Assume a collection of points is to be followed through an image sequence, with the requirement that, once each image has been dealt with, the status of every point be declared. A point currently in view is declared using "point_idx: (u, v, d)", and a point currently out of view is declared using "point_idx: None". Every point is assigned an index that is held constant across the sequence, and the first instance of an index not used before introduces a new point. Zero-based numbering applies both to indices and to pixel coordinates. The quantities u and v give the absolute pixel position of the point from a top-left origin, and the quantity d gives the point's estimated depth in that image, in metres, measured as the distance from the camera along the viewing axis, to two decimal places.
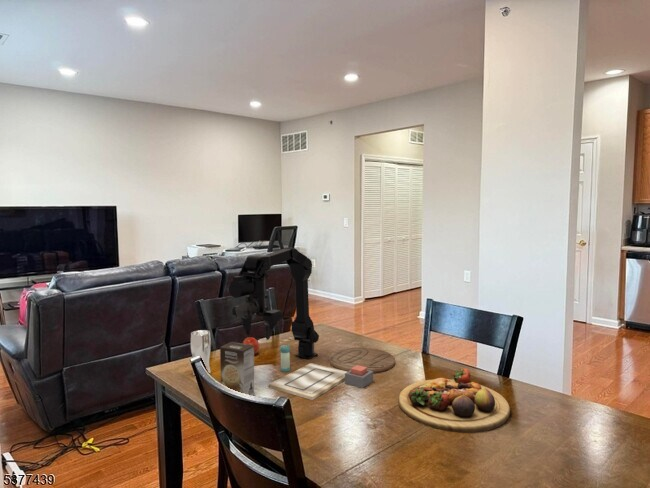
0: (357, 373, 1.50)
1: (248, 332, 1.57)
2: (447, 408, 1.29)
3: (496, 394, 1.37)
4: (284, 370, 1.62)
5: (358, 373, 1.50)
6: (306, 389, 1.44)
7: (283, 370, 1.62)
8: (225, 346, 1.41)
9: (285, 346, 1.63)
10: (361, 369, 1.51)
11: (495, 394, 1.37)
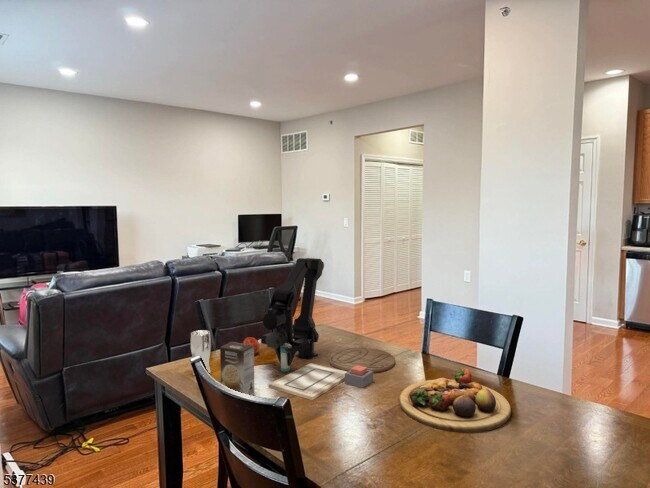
0: (357, 373, 1.50)
1: None
2: (448, 408, 1.29)
3: (497, 394, 1.37)
4: (284, 370, 1.62)
5: (358, 373, 1.50)
6: (306, 389, 1.44)
7: (283, 370, 1.62)
8: (225, 346, 1.41)
9: (285, 346, 1.63)
10: (361, 369, 1.51)
11: (496, 394, 1.37)
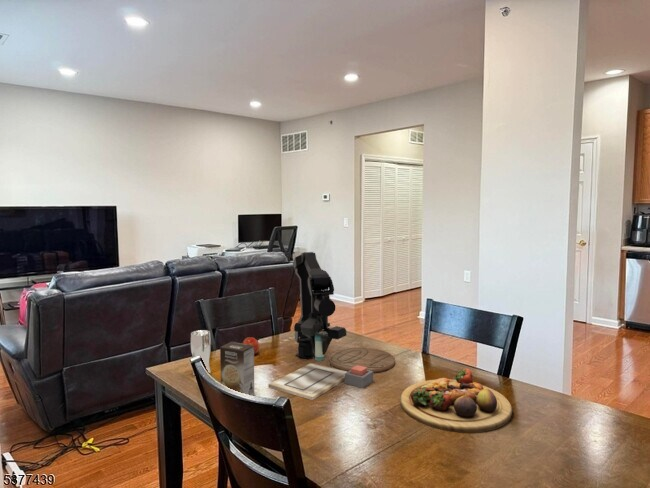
0: (357, 373, 1.50)
1: None
2: (449, 408, 1.29)
3: (498, 394, 1.37)
4: (319, 359, 1.55)
5: (358, 373, 1.50)
6: (306, 389, 1.44)
7: (318, 359, 1.56)
8: (225, 346, 1.41)
9: (320, 334, 1.56)
10: (361, 369, 1.51)
11: (497, 394, 1.37)
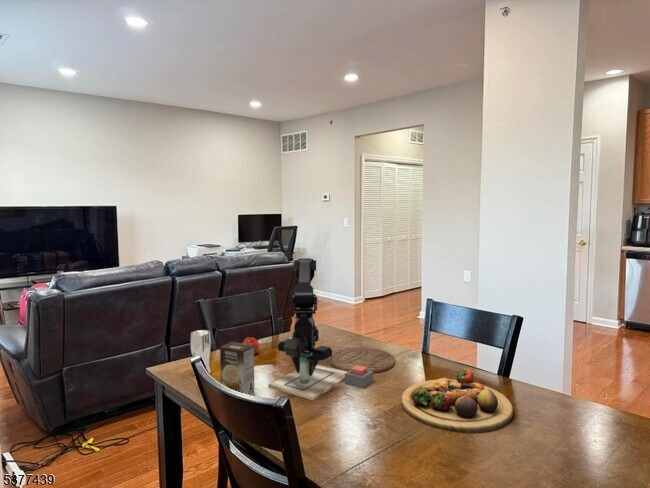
0: (357, 373, 1.50)
1: (299, 369, 1.51)
2: (450, 408, 1.29)
3: (499, 394, 1.37)
4: (303, 381, 1.48)
5: (358, 373, 1.50)
6: (306, 389, 1.44)
7: (302, 381, 1.49)
8: (225, 346, 1.41)
9: (305, 355, 1.49)
10: (361, 369, 1.51)
11: (498, 394, 1.37)
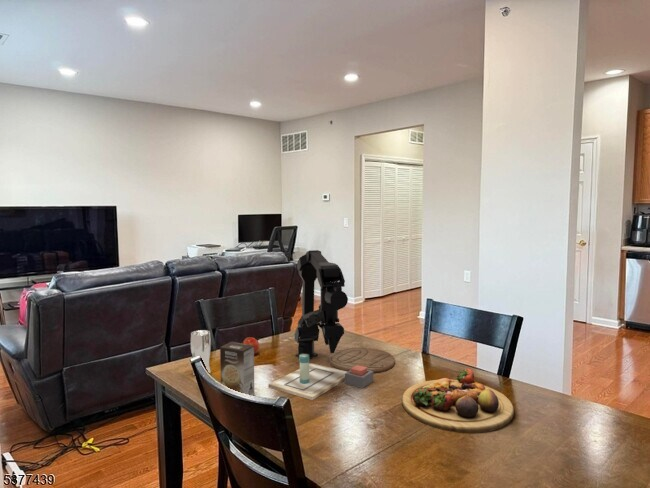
0: (357, 373, 1.50)
1: (327, 342, 1.54)
2: (450, 408, 1.29)
3: (499, 394, 1.37)
4: (303, 382, 1.48)
5: (358, 373, 1.50)
6: (306, 389, 1.44)
7: (302, 382, 1.49)
8: (225, 346, 1.41)
9: (304, 355, 1.49)
10: (361, 369, 1.51)
11: (499, 394, 1.37)
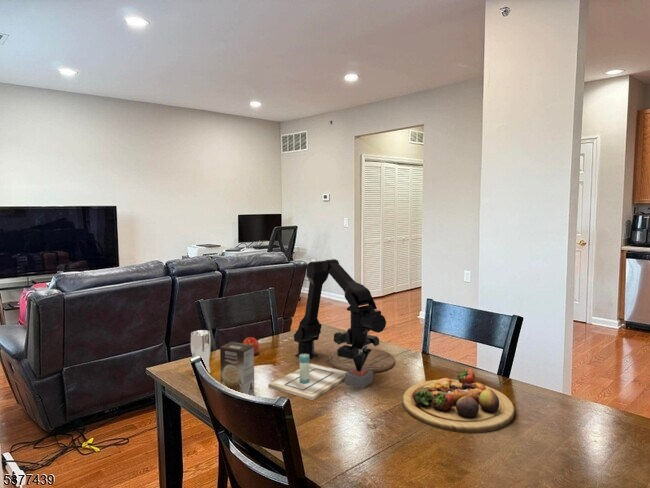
0: None
1: None
2: (451, 408, 1.29)
3: (500, 394, 1.37)
4: (303, 382, 1.48)
5: None
6: (306, 389, 1.44)
7: (302, 382, 1.49)
8: (225, 346, 1.41)
9: (304, 355, 1.49)
10: (361, 372, 1.51)
11: (499, 394, 1.37)
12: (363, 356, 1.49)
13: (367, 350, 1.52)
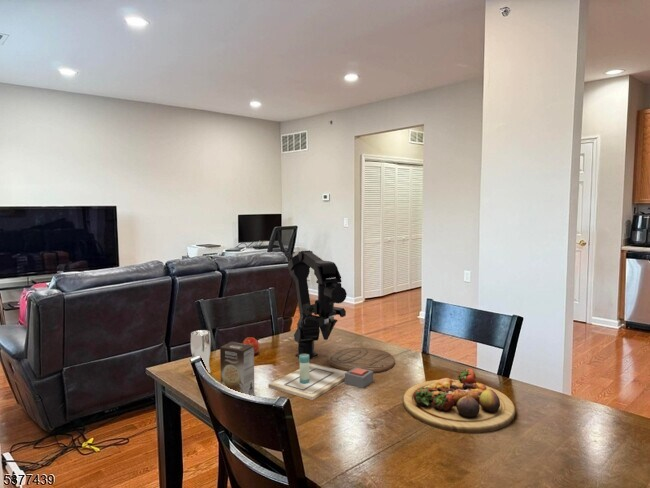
0: None
1: None
2: (452, 408, 1.29)
3: (501, 394, 1.37)
4: (303, 382, 1.48)
5: None
6: (306, 389, 1.44)
7: (302, 382, 1.49)
8: (225, 346, 1.41)
9: (304, 355, 1.49)
10: (361, 372, 1.51)
11: (500, 394, 1.37)
12: (329, 325, 1.59)
13: (333, 320, 1.62)
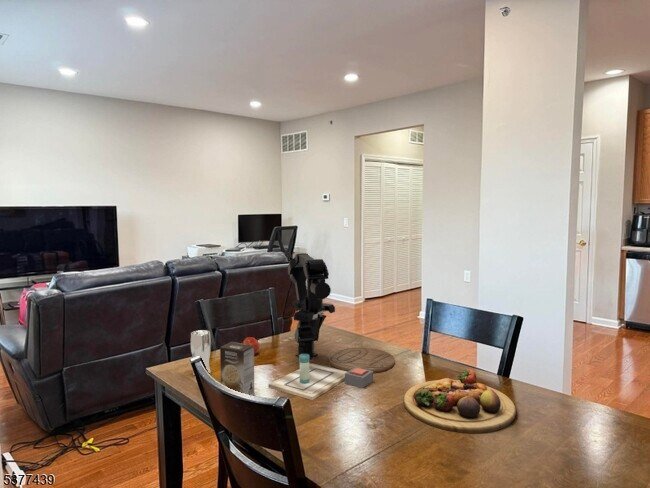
0: None
1: None
2: (452, 409, 1.29)
3: (501, 395, 1.37)
4: (303, 382, 1.48)
5: None
6: (306, 389, 1.44)
7: (302, 382, 1.49)
8: (225, 346, 1.41)
9: (304, 355, 1.49)
10: (361, 372, 1.51)
11: (501, 395, 1.37)
12: (318, 321, 1.63)
13: (322, 316, 1.66)
